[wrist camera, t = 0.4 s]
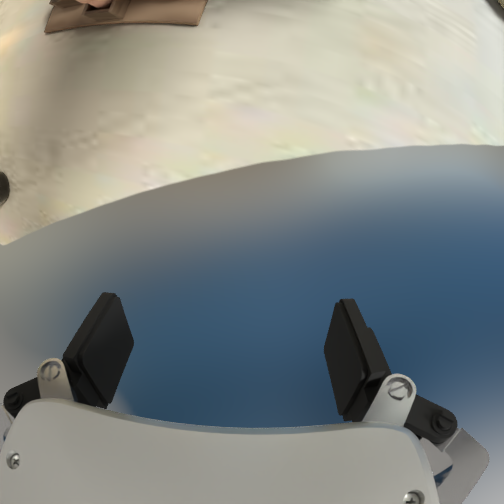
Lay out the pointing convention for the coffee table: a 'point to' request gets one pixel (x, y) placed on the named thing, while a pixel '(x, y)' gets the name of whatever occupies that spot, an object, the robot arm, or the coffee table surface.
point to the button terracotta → (98, 3)
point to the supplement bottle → (3, 187)
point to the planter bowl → (501, 3)
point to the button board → (124, 13)
